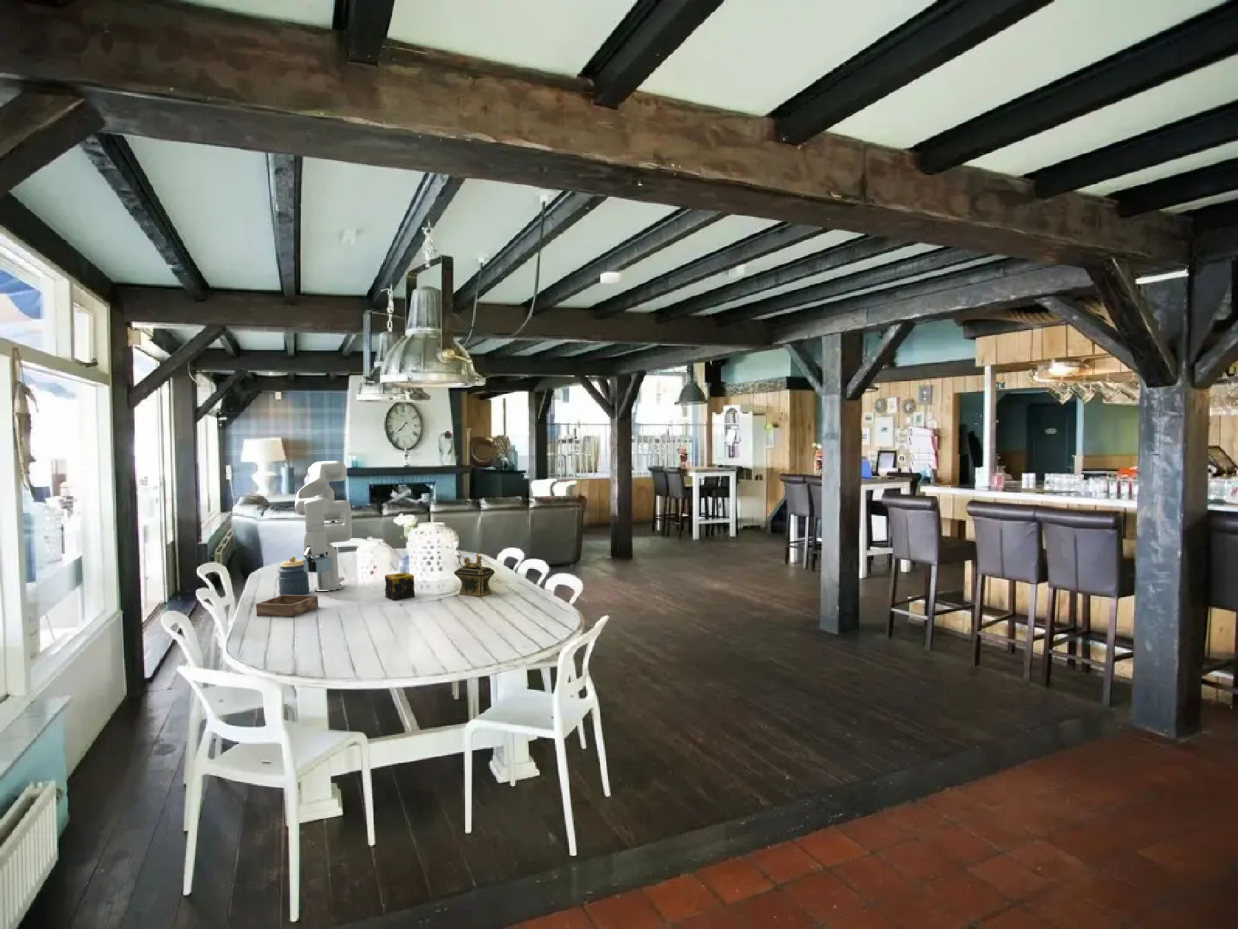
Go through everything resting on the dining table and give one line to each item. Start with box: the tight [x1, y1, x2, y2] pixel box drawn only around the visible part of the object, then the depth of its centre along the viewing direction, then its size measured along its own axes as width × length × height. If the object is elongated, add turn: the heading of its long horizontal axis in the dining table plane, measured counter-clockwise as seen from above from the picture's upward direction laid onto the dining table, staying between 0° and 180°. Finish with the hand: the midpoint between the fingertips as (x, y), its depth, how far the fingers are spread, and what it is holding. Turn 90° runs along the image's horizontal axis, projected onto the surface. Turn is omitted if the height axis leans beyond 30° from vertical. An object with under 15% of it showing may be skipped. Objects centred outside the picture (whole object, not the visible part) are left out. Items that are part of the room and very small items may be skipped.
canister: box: [277, 556, 310, 596], centre depth 333 cm, size 13×13×18 cm
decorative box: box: [453, 548, 495, 597], centre depth 322 cm, size 20×10×20 cm, turn 60°
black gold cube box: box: [384, 572, 415, 602], centre depth 320 cm, size 10×10×10 cm
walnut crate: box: [255, 594, 319, 618], centre depth 301 cm, size 16×18×5 cm
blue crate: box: [302, 556, 332, 574], centre depth 309 cm, size 6×9×6 cm
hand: (317, 569), depth 309 cm, fingers closed on blue crate, 6 cm apart
